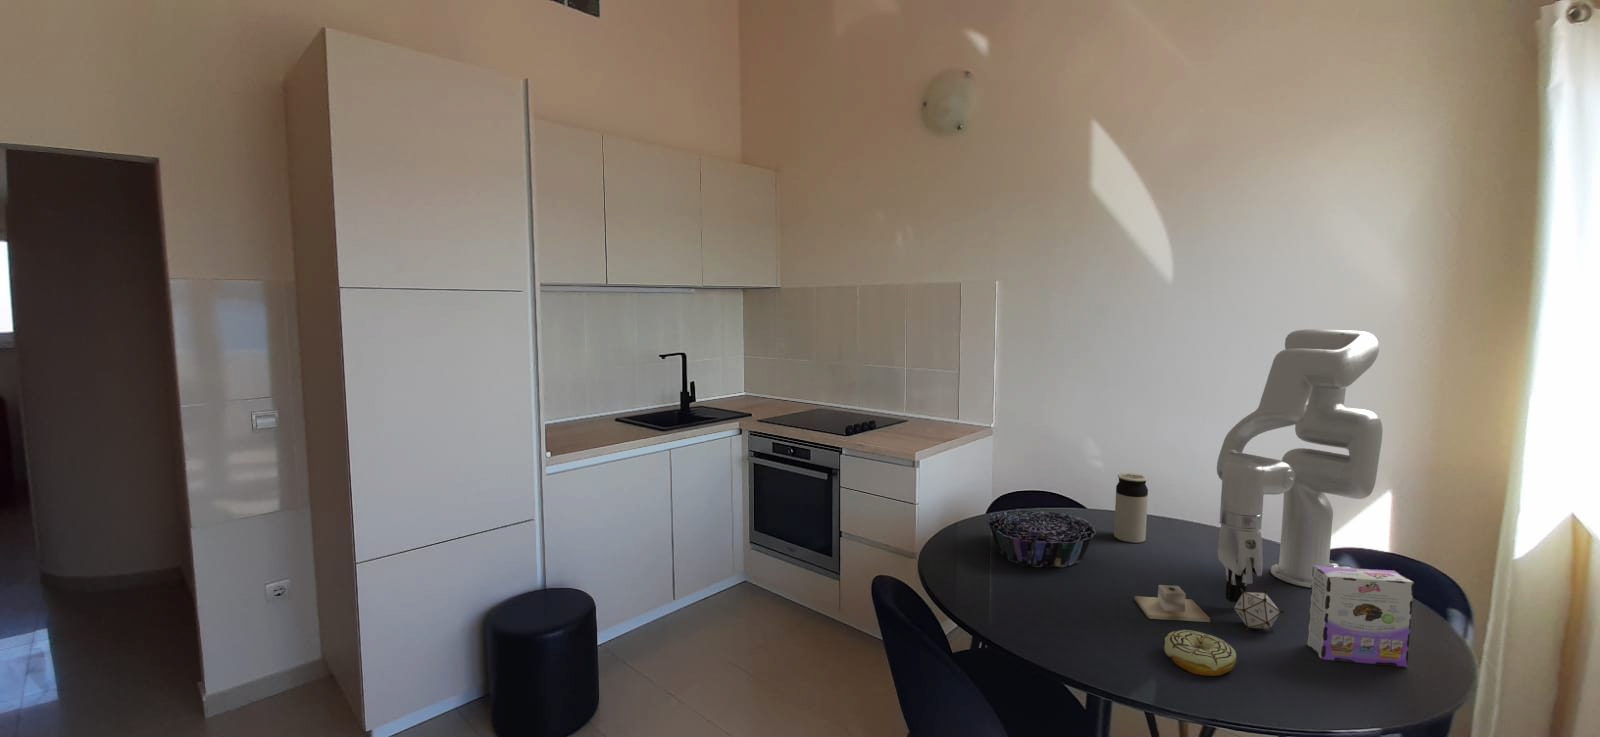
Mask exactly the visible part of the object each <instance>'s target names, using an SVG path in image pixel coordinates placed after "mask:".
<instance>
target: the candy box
mask: <svg viewBox="0 0 1600 737" xmlns="http://www.w3.org/2000/svg"><path fill="white" fill-rule="evenodd" d="M1343 567H1344V566H1343ZM1343 567H1340V566H1339V567H1328V566H1314V565H1313V573H1312V586H1311V588H1310V589H1311V590H1310V601H1309V613H1308V615H1309V616H1308V626H1307V627H1308V628H1307V629H1308V630H1307V638H1306V641H1307V643H1306V645H1307V646H1308V647H1309V648H1310V649H1311V650H1312V651H1313V652H1314V653H1315V654H1316V655H1317V656H1318V657H1319V658H1320V659H1321V660H1326V661H1337V662H1346V663H1347V662H1349V663H1359V664H1369V665H1370V664H1371V665H1382V666H1394V667H1404V668H1405V667H1406V668H1408V664H1409V651H1410V636H1411V625H1412V624H1411V623H1412V608H1413V596H1414V587H1415V586H1414V584H1415V582H1414V581H1413V580H1410V579H1409V578H1408V577H1406V576H1404V575H1402V574H1400V573H1399V572H1397V571H1396V570H1390V569H1389V570H1386V569H1373V568H1370V569H1369V568H1356V567H1350V568H1343Z"/></svg>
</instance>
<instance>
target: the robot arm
mask: <svg viewBox="0 0 1600 737" xmlns="http://www.w3.org/2000/svg"><path fill="white" fill-rule="evenodd" d="M1284 348H1285V349H1284V350H1281V351H1279V352H1278V353H1277V354H1276V355H1275V356H1274V358H1273V360H1272V364H1271V367H1270V370H1269V373H1268V375H1267V379H1266V383H1265V385H1264V389H1263V392H1262V393H1261V394H1262V395H1261V396H1260V397H1261V398H1260V402H1259V405H1258V407H1257V408H1256V409H1255V410H1254V411H1253V412H1252V413H1249V414H1248V415H1246V416H1245V417H1243V418H1242V419H1241V420H1239V421H1238V422H1237V423H1236V424H1235V425H1234V426H1233V427H1232V428H1231V429H1229V431H1228V432H1227V433H1226V436H1225V438H1224V440H1223V442H1222V446H1221V448H1220V452H1219V455H1218V459H1217V463H1216V474H1217V476H1218V478H1219V479H1220V481H1221V491H1220V492H1221V494H1220V509H1219V524H1220V529H1219V535H1218V544H1217V545H1218V546H1217V557H1218V560H1219V562H1221V564H1222V565H1223V567H1224V569H1225V580H1226V582H1225V583H1226V586H1225V599H1226V600H1228V601H1229V602H1230V603H1237V601H1238V599H1239V598H1240V596H1241V594H1242V593H1243V592H1241V591H1240V590H1241V589H1243V590H1244V592H1247V586H1248V584H1249V585H1252V584H1253V581H1254V580H1253V575H1254V576H1255V577H1257V578H1258V577H1259V578H1260V577H1261V576H1262V575H1263V540H1262V539H1263V538H1262V532H1261V530H1262V522H1263V521H1262V520H1263V509H1264V508H1263V507H1264V496H1265V495H1280V494H1283V504H1282V516H1281V517H1282V519H1281V529H1280V530H1281V533H1280V544H1279V545H1280V546H1279V549H1280V550H1279V560H1278V563H1276V564H1272V566H1270V574H1272V576H1274V577H1275V578H1277V579H1279V580H1281V581H1283V582H1286V583H1289V584H1292V585H1294V586H1300V587H1303V588H1308V589H1309V588H1310V589H1311V586H1312V573H1313V565H1314V566H1328V567H1343V568H1351V566H1339V564H1338V563H1331V562H1330V556H1331V544H1332V543H1331V542H1332V530H1333V521H1334V520H1333V518H1334V510H1333V506H1332V504H1331V502H1330V501H1329V499H1328V497H1327V495H1326V494H1330V495H1335V496H1338V497H1343V498H1347V499H1348V498H1350V499H1355V500H1362V499H1363V500H1364V499H1366V498H1368V497H1369V496H1371V494H1372V493H1373V490H1374V488H1375V486H1376V481H1377V473H1378V469H1379V468H1378V467H1379V461H1380V453H1381V448H1382V442H1383V441H1382V440H1383V424H1382V420H1381V418H1380V416H1379V415H1378V414H1377V413H1375V412H1374V411H1372V410H1369V409H1364V408H1356V407H1349V406H1345V397H1346V391H1347V388H1348V387H1350V386H1351V385H1352V384H1353V383H1355V382H1356V381H1357V380H1358V379H1359V378H1360V377H1361V376H1362V375H1363V374H1364V373H1366V371H1368V370H1369V369H1370V368H1371V367H1372V366H1373V364H1374V363H1375V361H1376V360H1377V358H1378V356H1379V351H1380V345H1379V341H1378V339H1377V337H1376V336H1375V335H1374V334H1373V333H1370V332H1368V331H1363V330H1343V329H1342V330H1341V329H1319V328H1318V329H1316V328H1315V329H1314V328H1313V329H1311V328H1310V329H1309V328H1308V329H1307V328H1306V329H1300V330H1299V329H1298V330H1294V331H1292V332H1289V333H1288V334H1287V335H1286V337H1285V341H1284ZM1291 426H1294V428H1295V430H1294V431H1295V435H1296V436H1297V438H1298V439H1300V440H1301V441H1303V442H1306V443H1311V444H1315V445H1319V446H1320V445H1321V446H1326V447H1333V448H1339V449H1345V450H1347V451H1348V454H1345V453H1344V454H1342V453H1337V452H1336V453H1335V452H1332V451H1325V450H1319V449H1313V448H1302V447H1301V448H1300V447H1298V448H1293V449H1290V450H1288V451H1286V453H1284V455H1283V456H1282V458H1281V460H1280V459H1277V458H1270V457H1265V456H1260V455H1256V454H1249V453H1244V452H1243V451H1244V450H1245V447H1246V445H1247V444H1248V443H1249V442H1250V441H1251V440H1252V439H1253V438H1255V437H1257V436H1258V435H1260V434H1263V433H1266V432H1269V431H1273V430H1276V429H1281V428H1285V427H1291ZM1240 588H1241V589H1240Z"/></svg>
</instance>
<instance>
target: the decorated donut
mask: <svg viewBox="0 0 1600 737" xmlns="http://www.w3.org/2000/svg"><path fill="white" fill-rule="evenodd" d="M1164 642H1165V643H1164V647H1163V649H1164V653H1165V654H1166V656H1168V657H1169V658H1170V659H1171V661H1172V662H1173V663H1174V664H1175V665H1177V666H1178V667H1179V668H1181V669H1183V670H1185V671H1187V672H1189V673H1191V674H1194V675H1200V676H1207V677H1208V676H1209V677H1215V676H1217V677H1220V676H1222V675H1225V674H1226V673H1228V672H1231V671H1232V670H1233V669H1234V667H1235V664H1236V662H1237V651H1236V650H1235V649H1234V647H1233V646H1231V645H1230V644H1229V643H1227V641H1225V640H1223V639H1221V638H1218V637H1217V636H1215V635H1212V634H1207V633H1204V632H1202V631H1201V632H1200V631H1196V630H1190V629H1180V630H1174V631H1170V632H1169V633H1168V634H1167V636H1165V638H1164Z"/></svg>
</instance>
